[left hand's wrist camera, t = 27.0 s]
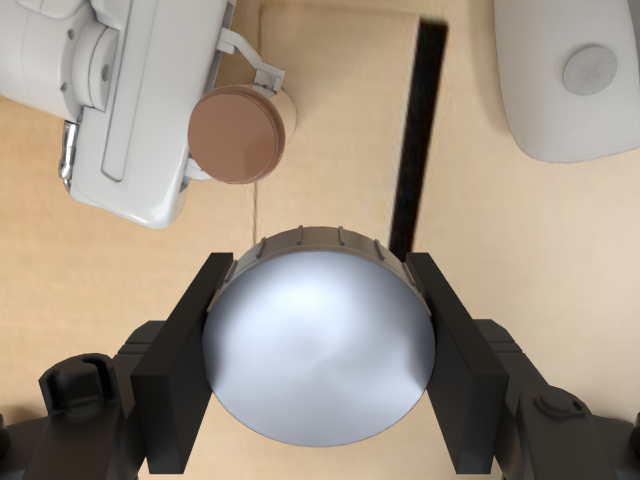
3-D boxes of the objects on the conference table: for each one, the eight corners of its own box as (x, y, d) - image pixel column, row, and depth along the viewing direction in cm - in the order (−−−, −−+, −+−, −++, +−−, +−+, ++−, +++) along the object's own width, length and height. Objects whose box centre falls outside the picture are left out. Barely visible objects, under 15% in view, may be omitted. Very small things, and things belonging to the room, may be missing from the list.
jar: (277, 159, 37) (252, 209, 22) (224, 127, 35) (161, 157, 21) (308, 106, 35) (302, 123, 20) (253, 71, 34) (207, 62, 19)
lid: (448, 245, 11) (471, 272, 10) (391, 417, 14) (402, 463, 12) (227, 203, 11) (211, 224, 9) (205, 388, 13) (189, 432, 11)
